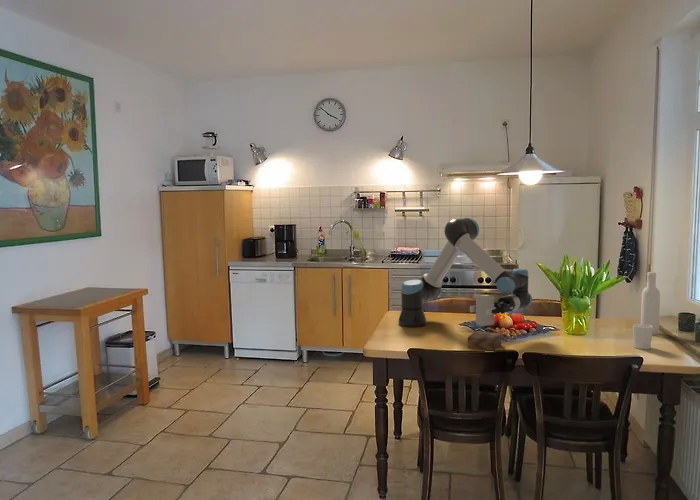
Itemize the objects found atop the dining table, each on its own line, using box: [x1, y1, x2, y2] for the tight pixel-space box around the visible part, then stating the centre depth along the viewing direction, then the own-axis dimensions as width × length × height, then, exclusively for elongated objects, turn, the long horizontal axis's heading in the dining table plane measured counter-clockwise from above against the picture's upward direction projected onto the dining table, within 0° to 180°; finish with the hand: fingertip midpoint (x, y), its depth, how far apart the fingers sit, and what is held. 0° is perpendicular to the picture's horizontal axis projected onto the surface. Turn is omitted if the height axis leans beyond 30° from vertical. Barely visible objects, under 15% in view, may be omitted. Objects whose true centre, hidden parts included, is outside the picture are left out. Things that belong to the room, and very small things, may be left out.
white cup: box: [632, 322, 653, 350], centre depth 232 cm, size 8×8×10 cm
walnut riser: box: [467, 330, 502, 351], centre depth 239 cm, size 12×12×5 cm
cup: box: [475, 295, 495, 326], centre depth 238 cm, size 8×8×12 cm
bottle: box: [640, 271, 661, 336], centre depth 255 cm, size 8×8×30 cm
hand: (478, 310), depth 235 cm, fingers closed on cup, 8 cm apart
